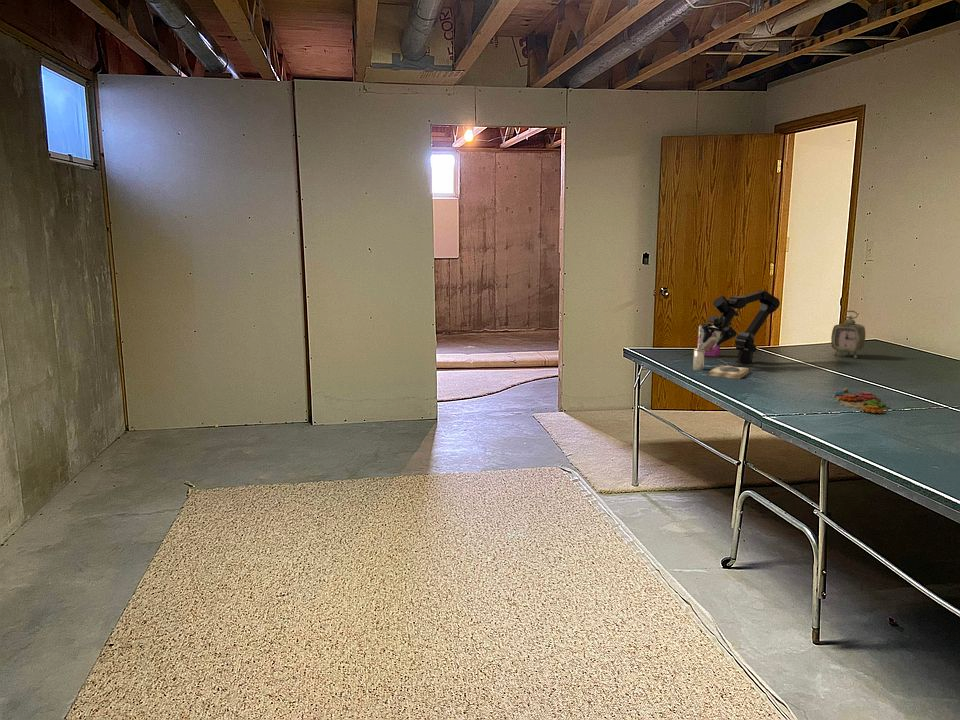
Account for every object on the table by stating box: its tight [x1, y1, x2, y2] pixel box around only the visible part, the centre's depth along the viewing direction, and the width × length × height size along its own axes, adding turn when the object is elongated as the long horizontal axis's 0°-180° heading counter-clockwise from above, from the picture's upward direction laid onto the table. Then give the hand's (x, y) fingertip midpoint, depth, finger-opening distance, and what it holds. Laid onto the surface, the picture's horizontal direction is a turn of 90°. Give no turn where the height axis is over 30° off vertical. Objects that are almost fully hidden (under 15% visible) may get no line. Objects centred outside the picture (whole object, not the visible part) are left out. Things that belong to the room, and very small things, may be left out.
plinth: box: [708, 365, 750, 380], centre depth 331 cm, size 14×18×2 cm
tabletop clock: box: [830, 310, 866, 359], centre depth 372 cm, size 14×9×25 cm, turn 43°
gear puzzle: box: [831, 387, 888, 414], centre depth 273 cm, size 31×16×4 cm, turn 165°
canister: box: [692, 347, 705, 371], centre depth 342 cm, size 5×5×10 cm
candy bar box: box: [696, 325, 722, 358], centre depth 377 cm, size 11×5×16 cm, turn 84°
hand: (709, 343), depth 345 cm, fingers open, 9 cm apart
